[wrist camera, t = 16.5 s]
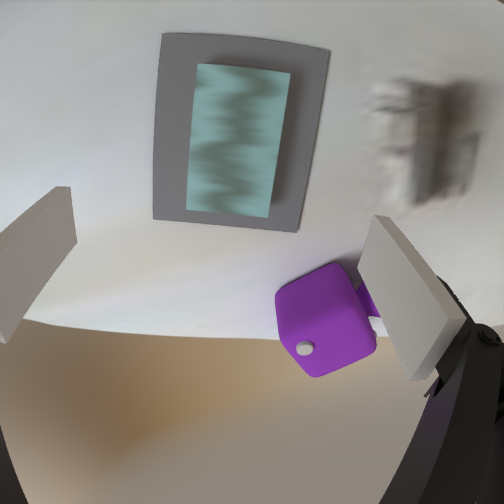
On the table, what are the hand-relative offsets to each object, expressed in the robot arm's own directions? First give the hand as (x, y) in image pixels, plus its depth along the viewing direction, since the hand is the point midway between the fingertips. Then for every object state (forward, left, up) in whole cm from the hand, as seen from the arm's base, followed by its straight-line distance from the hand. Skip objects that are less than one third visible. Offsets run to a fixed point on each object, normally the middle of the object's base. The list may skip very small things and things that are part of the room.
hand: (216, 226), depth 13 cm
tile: (0, -7, -19) cm, 20 cm away
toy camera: (+14, -18, -21) cm, 31 cm away
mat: (0, 0, -21) cm, 21 cm away
